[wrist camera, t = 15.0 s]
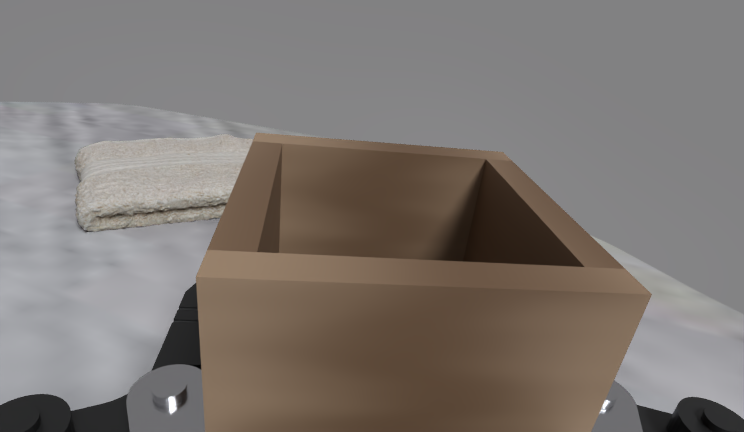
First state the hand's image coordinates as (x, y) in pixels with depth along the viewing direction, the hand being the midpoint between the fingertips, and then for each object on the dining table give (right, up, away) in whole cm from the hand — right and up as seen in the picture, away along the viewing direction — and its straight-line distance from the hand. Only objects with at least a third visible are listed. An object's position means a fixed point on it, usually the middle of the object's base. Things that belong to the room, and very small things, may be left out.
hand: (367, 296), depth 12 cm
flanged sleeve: (0, -7, 0) cm, 7 cm away
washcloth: (-13, +4, +26) cm, 30 cm away
